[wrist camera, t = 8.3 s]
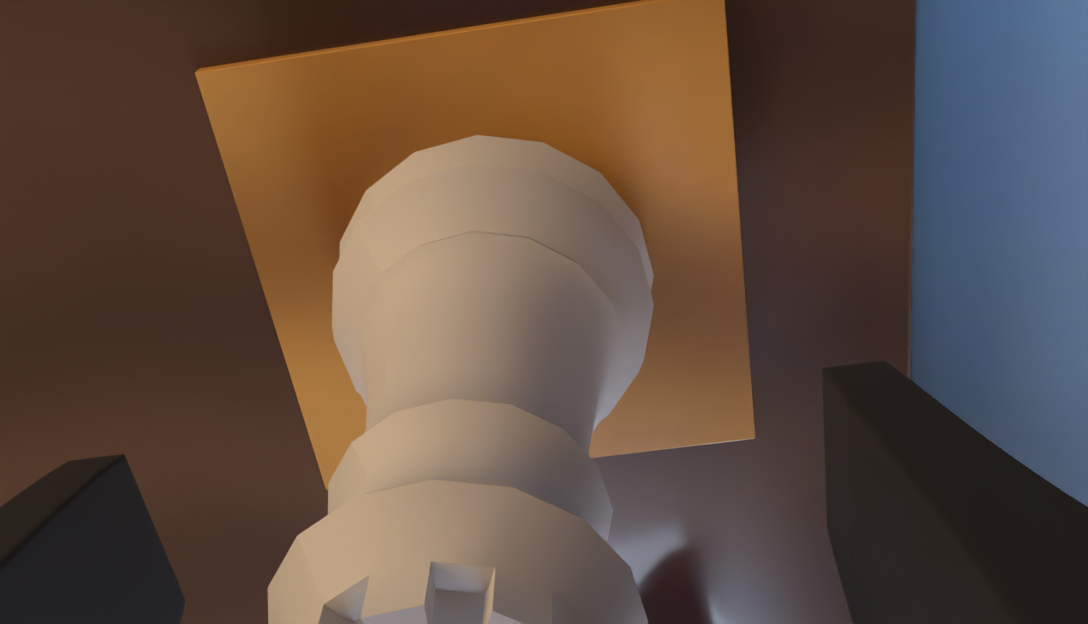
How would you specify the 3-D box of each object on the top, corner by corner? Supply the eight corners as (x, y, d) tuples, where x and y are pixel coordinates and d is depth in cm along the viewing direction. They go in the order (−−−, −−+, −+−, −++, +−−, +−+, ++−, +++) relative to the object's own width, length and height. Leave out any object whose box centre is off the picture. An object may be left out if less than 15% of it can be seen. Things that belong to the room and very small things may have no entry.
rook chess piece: (282, 286, 15) (50, 744, 8) (470, 55, 14) (383, 381, 7) (517, 448, 17) (489, 961, 10) (715, 255, 15) (857, 704, 8)
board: (892, 581, 20) (912, 629, 18) (-114, 690, 21) (-148, 739, 20) (897, -265, 13) (928, -266, 12) (-563, -16, 15) (-650, 2, 13)
